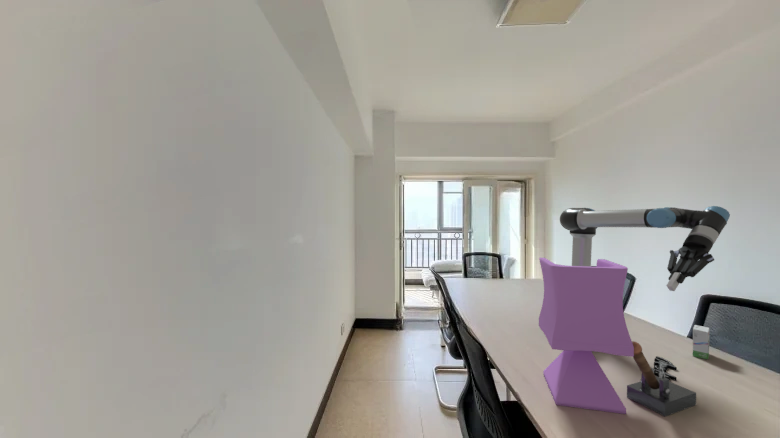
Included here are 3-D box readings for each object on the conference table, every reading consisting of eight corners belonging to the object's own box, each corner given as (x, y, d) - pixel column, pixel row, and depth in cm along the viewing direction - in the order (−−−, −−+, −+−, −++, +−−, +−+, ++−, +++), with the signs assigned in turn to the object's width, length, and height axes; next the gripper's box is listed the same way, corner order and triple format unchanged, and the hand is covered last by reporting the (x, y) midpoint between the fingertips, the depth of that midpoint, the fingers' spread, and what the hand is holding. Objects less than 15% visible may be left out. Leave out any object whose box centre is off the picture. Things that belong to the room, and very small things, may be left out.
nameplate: (644, 353, 138) (675, 360, 132) (644, 357, 138) (675, 364, 132) (642, 378, 117) (678, 388, 111) (642, 382, 117) (678, 392, 111)
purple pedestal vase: (604, 380, 118) (604, 259, 118) (633, 417, 96) (634, 269, 96) (538, 373, 124) (538, 257, 123) (552, 406, 102) (552, 266, 102)
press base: (696, 405, 103) (696, 377, 103) (664, 416, 97) (665, 387, 97) (657, 387, 113) (657, 362, 113) (626, 397, 107) (626, 370, 107)
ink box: (708, 360, 134) (708, 332, 134) (692, 356, 138) (692, 329, 138) (709, 353, 140) (709, 327, 140) (693, 350, 144) (694, 324, 143)
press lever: (664, 383, 102) (641, 341, 98) (658, 392, 101) (634, 350, 97) (650, 377, 106) (628, 336, 102) (644, 386, 105) (621, 345, 101)
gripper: (727, 249, 115) (697, 299, 110) (683, 245, 127) (654, 290, 122) (718, 235, 113) (688, 285, 108) (675, 232, 125) (645, 277, 120)
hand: (670, 288), depth 115 cm, fingers closed
